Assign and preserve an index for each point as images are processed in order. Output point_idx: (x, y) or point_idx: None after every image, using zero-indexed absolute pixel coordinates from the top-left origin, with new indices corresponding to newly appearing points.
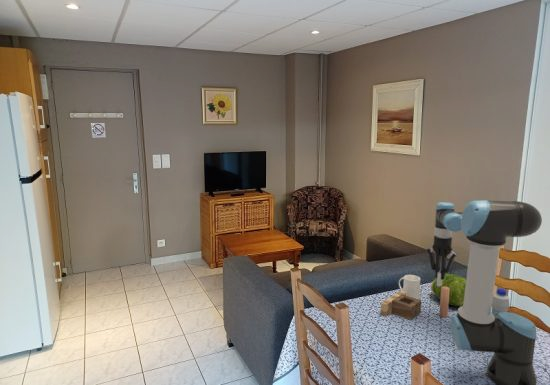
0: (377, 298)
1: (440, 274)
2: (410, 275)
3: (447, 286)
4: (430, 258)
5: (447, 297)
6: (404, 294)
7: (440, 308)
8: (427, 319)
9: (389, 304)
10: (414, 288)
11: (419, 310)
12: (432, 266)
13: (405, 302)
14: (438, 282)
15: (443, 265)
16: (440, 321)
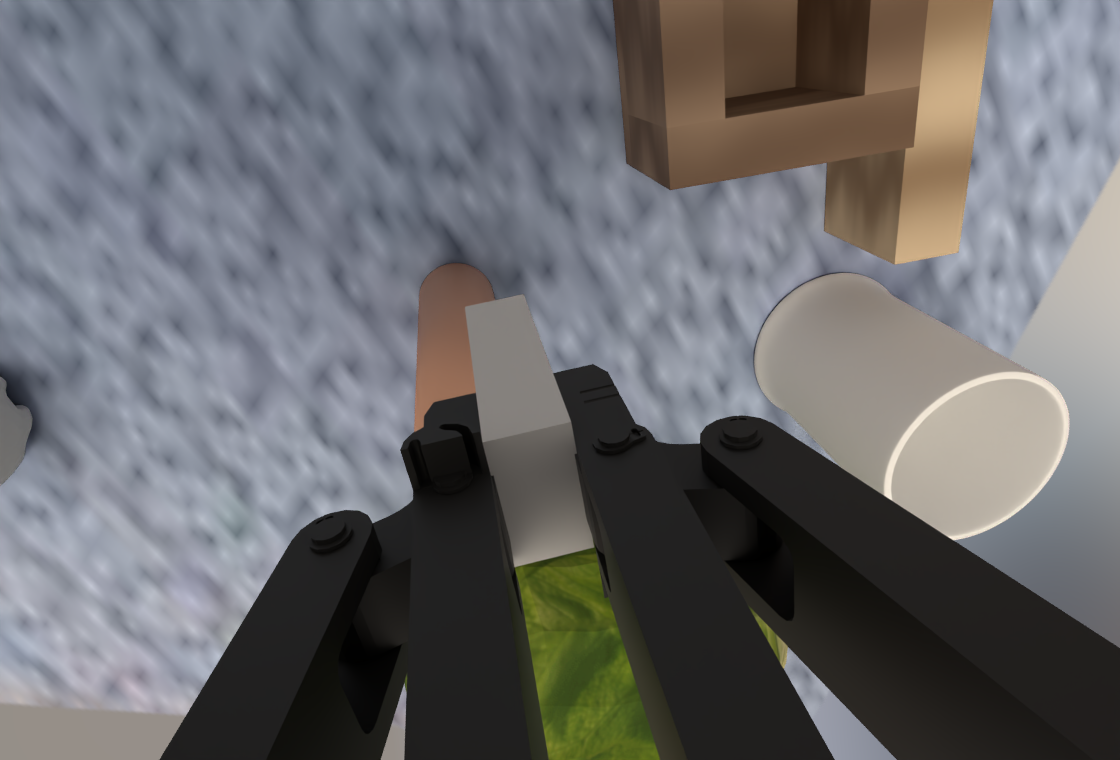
0: (1079, 94)
1: (487, 421)
2: (1011, 503)
3: (577, 598)
4: (1072, 644)
5: (418, 377)
6: (891, 217)
7: (477, 292)
8: (504, 91)
9: None
10: (857, 369)
11: (634, 137)
12: (779, 464)
13: (807, 94)
14: (501, 327)
15: (437, 650)
16: (399, 165)
